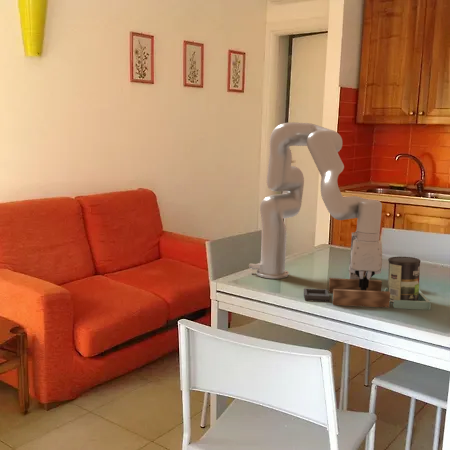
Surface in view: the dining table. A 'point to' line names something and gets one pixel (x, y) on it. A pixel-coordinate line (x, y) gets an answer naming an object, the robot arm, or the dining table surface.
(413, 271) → the coffee can
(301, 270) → the dining table surface
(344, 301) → the channel
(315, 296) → the tray
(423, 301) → the dock
